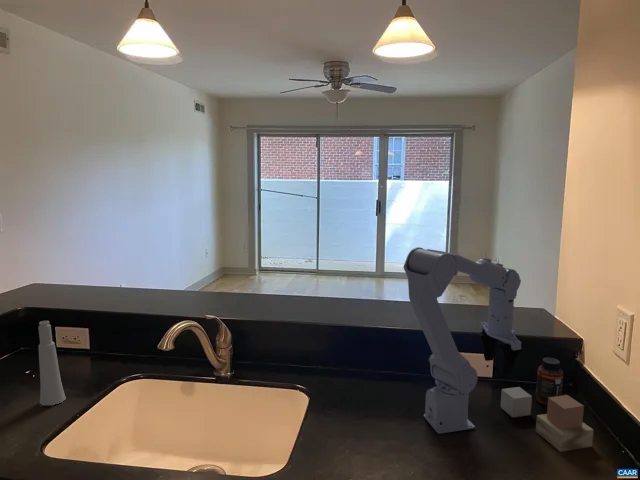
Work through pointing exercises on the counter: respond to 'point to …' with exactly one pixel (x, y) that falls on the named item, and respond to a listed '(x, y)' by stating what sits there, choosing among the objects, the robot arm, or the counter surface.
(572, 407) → the terracotta cube
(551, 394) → the supplement bottle
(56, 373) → the cosmetic bottle
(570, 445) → the birch base block
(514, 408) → the grey cube
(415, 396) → the counter surface
